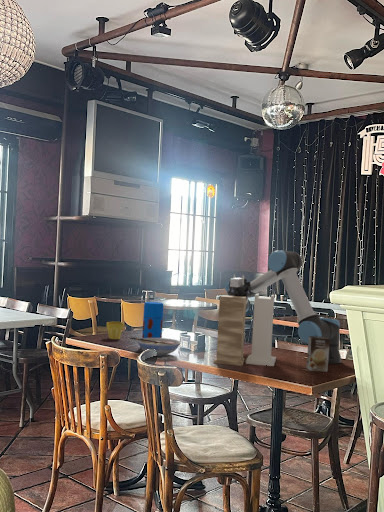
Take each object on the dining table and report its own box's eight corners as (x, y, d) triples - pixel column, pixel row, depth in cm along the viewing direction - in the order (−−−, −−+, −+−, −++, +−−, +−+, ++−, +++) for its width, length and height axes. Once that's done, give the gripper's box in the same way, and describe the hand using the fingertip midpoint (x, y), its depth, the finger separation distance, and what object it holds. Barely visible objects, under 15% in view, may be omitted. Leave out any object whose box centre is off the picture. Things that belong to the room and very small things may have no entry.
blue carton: (158, 349, 311) (160, 304, 311) (139, 348, 313) (141, 302, 313) (163, 347, 321) (165, 303, 322) (144, 345, 324) (147, 301, 324)
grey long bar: (236, 284, 311) (236, 277, 312) (243, 285, 311) (243, 278, 311) (230, 286, 284) (230, 278, 284) (237, 287, 283) (238, 279, 283)
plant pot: (102, 338, 339) (103, 322, 339) (110, 336, 349) (111, 321, 349) (118, 340, 336) (119, 324, 336) (125, 338, 346) (126, 322, 346)
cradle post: (249, 357, 303) (253, 292, 303) (275, 359, 300) (279, 294, 301) (245, 363, 284) (249, 294, 284) (273, 366, 281) (277, 296, 281)
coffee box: (309, 371, 274) (311, 337, 274) (306, 368, 280) (307, 335, 280) (328, 371, 274) (329, 338, 274) (324, 369, 281) (326, 336, 281)
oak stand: (218, 358, 293) (221, 295, 294) (244, 361, 291) (248, 296, 291) (213, 363, 280) (217, 296, 280) (242, 365, 277) (245, 298, 277)
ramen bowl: (190, 355, 298) (190, 340, 298) (166, 361, 278) (167, 344, 278) (150, 349, 311) (151, 334, 311) (125, 354, 291) (126, 338, 291)
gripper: (255, 303, 319) (254, 284, 299) (225, 301, 322) (222, 282, 302) (256, 291, 323) (255, 271, 303) (227, 289, 326) (223, 269, 306)
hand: (238, 276), depth 303 cm, fingers closed on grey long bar, 4 cm apart
